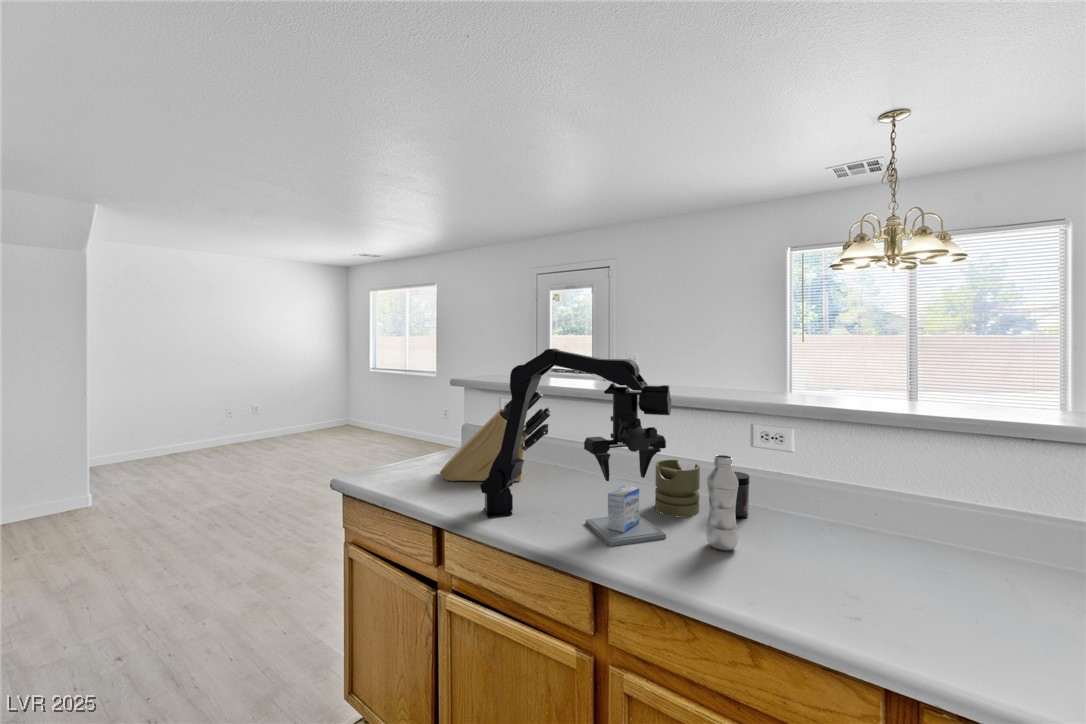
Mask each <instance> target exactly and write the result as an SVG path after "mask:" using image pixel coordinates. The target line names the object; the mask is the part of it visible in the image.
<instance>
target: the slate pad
mask: <svg viewBox="0 0 1086 724" xmlns="http://www.w3.org/2000/svg"><path fill="white" fill-rule="evenodd" d="M585 525H587V527H588V528H590V529H591V530H592V532H594V533H595V534H596V535H597V536H598V537H599V538H600V539H601V540H602V541H604V542H605V543H606V545H608V546H609V547H615V546H623V545H630V544H636V543H644V542H650V541H659V540H666V539H667V534H666V533H665V532H663V531H662V530H661V529H659V528H658V527H657V526H656V525H654V524H653V523H651V522H649V521H648V520H647V519H645V518H644V517H643V516H641V515H640V514H639V523H638V524H636V525H635V526H633V527H632V528H631V529H629V530H628V531H626V532H625V533H623V532H619V531H615V530H611V529H608V516H603V517H597V518H596V517H595V518H589V519H585ZM665 538H666V539H665Z"/></svg>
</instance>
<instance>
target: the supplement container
mask: <svg viewBox="0 0 1086 724" xmlns="http://www.w3.org/2000/svg"><path fill="white" fill-rule="evenodd" d="M732 471H733V472H734V473H735V475H736V477H737V479H738V482H739V484H738V492H737V498H736V507H735V508H736V510H735V515H736V518H737V519H741V520H742V519H745V518H747V517H748V516H749V514H750V513H749V511H750V510H749V509H750V483H751V482H750V477H751V476H750V474H748V473H746V472H742V471H734V470H732ZM737 519H736V520H737Z"/></svg>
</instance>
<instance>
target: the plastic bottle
mask: <svg viewBox="0 0 1086 724" xmlns="http://www.w3.org/2000/svg"><path fill="white" fill-rule="evenodd" d="M713 458H714V459H713V466H714V467H713V468H712V470H711V471H710V472H709V474H708V475H707V479H706V484H707V492H708V502H709V506H708V507H709V512H708V523H707V526H706V533H705V535H706V541H707V543H708V544H709V545H710V547H712V548H714V549H716V550H719V551H732V550H733V551H734V549H735V548H736V547H737V545H738V544H739V533H738V528H737V519H736V515H735V510H736V508H735V507H736V498H737V492H738V484H739V482H738V479H737V477H736V475H735V473H734V472H733V471H734V470H733V469H732V467H734V466H733V464H734V463H733V457H732V456H729V455H725V454H717V455H714V457H713Z"/></svg>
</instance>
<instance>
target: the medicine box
mask: <svg viewBox="0 0 1086 724" xmlns="http://www.w3.org/2000/svg"><path fill="white" fill-rule="evenodd" d="M639 515H640V488H639V487H636V486H631V485H623V486H620V487H618V488H616V489H614V490H613V491H611V492H608V493H607V517H608V529H611V530H615V531H619V532H623V533H625V532H626V531H628V530H629V529H631V528H632V527H633V526H635V525H636V524H638V523H639Z"/></svg>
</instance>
